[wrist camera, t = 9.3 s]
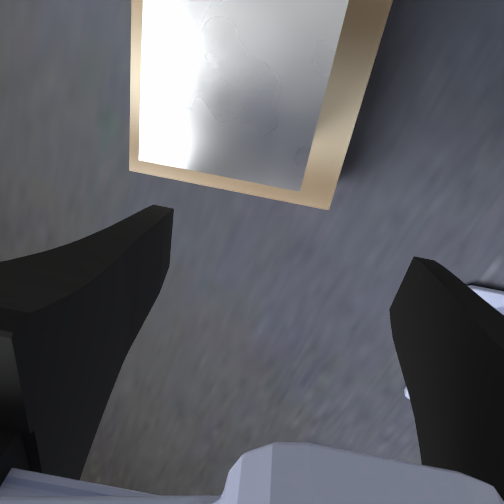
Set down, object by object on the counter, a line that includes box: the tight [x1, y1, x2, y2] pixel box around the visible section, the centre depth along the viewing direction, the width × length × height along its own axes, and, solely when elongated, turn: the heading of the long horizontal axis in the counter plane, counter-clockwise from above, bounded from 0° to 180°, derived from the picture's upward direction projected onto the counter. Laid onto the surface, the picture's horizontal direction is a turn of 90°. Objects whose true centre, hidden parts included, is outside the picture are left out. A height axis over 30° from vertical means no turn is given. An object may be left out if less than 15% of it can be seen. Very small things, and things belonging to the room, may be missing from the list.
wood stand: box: [129, 0, 393, 210], centre depth 16 cm, size 14×9×3 cm, turn 170°
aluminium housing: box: [139, 0, 349, 192], centre depth 12 cm, size 9×5×5 cm, turn 170°
